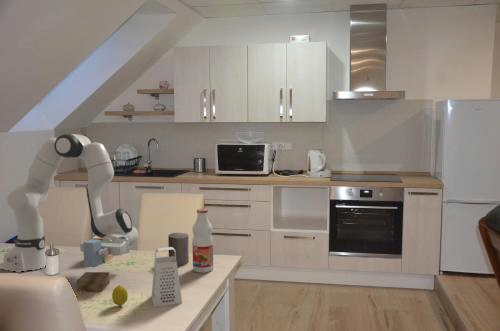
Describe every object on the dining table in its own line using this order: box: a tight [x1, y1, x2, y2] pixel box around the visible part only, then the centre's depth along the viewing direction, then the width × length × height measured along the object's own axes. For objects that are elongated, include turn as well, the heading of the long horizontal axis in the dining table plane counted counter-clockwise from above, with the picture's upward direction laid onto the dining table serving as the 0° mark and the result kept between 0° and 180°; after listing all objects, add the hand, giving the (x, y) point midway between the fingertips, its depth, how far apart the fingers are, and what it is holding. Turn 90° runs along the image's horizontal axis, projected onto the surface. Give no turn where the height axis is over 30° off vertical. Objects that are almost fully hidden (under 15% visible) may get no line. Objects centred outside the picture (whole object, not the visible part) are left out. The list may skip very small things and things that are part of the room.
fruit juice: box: [191, 208, 214, 274], centre depth 213 cm, size 9×9×28 cm
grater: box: [151, 246, 183, 307], centre depth 178 cm, size 10×10×20 cm
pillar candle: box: [167, 232, 190, 267], centre depth 225 cm, size 10×10×15 cm
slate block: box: [82, 238, 103, 268], centre depth 192 cm, size 5×5×10 cm
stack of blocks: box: [91, 235, 115, 264], centre depth 236 cm, size 21×6×12 cm, turn 175°
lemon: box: [111, 284, 129, 307], centre depth 173 cm, size 6×6×8 cm
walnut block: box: [76, 271, 111, 293], centre depth 193 cm, size 10×10×5 cm
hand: (91, 252), depth 191 cm, fingers closed on slate block, 5 cm apart
